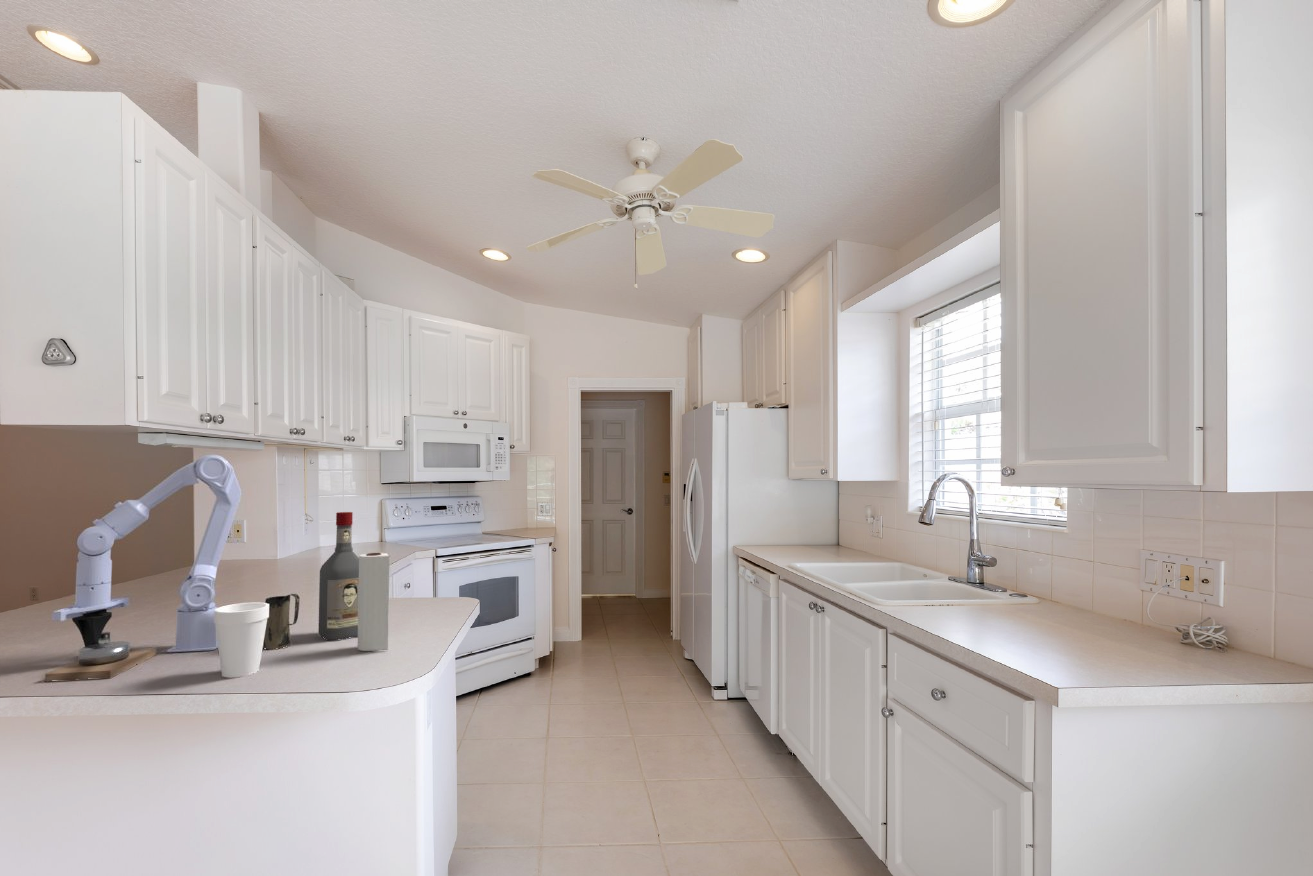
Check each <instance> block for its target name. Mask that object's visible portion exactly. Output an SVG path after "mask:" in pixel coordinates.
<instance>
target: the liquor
mask: <svg viewBox="0 0 1313 876" xmlns="http://www.w3.org/2000/svg"><path fill="white" fill-rule="evenodd" d="M353 513H354V512H352V511H342V512H340V511H338V512H336V513H335V514H336V515H335V522H336V523H335V526H336V534H335V535H336V538H335V539H336V541H335V548H334V552H333V553H332V554H331V555H330V557H328V559H327V560H326V561H325V562H324V563H323V564H322V565H321V567H320V569H319V583H318V584H319V589H318V591H319V592H318V635H319V636H321V637H320V638H322V637H324V638H325V640H326V639H327V640H326V641H339V640H338V639H343V640H347V639H346V638H349V637H354V638H358V637H357V636H358V596H359V556H358V555H357V554H356V553H355V552H354V551H353V550H354V548H353V546H352V544H353V543H352V537H353V536H352V535H353V532H352V529H353V528H352V527H353V526H352V525H353ZM324 638H323V639H324ZM349 639H350V638H349Z"/></svg>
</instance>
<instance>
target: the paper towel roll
mask: <svg viewBox="0 0 1313 876" xmlns="http://www.w3.org/2000/svg"><path fill="white" fill-rule="evenodd" d="M358 558H359V596H358V637H357V650H358V651H360V652H361V651H364V652H375V651H377V652H378V651H388V650H389V625H390V624H389V614H390V610H389V609H390V607H389V606H390V562H391V561H390V560H391V559H390V555H389V554H388V553H387V552H386V553H385V552H369V553H362V554H359V555H358Z"/></svg>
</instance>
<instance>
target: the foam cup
mask: <svg viewBox="0 0 1313 876" xmlns="http://www.w3.org/2000/svg"><path fill="white" fill-rule="evenodd" d="M218 607H219V606H218ZM267 618H269V604H267V603H265V602H241V603H233V604H228V605H223V606H220V607H219V608H216V609H215V611H214V623H215V625H216V633H217V641H218V648H217V649H218V656H219V665H220V671H221V677H223V678H229V679H233V678H242V677H246V676H251V675H254V674H257V673H258V672H259V671H260V665H261V660H262V654H263V642H264V636H265V630H266V624H267ZM257 671H258V672H257ZM253 673H254V674H253Z"/></svg>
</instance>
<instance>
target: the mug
mask: <svg viewBox="0 0 1313 876" xmlns="http://www.w3.org/2000/svg"><path fill="white" fill-rule="evenodd" d="M291 596H292V597H294V599H295V600H294V603H295V604H294V616H293V622H292V623H290V606H291ZM264 603H267V604H269V618H267V624H266V630H265V636H264V642H263V648H266V649H276V648H282V649H284V648H283V647H286V646H289V645H290V644H292V643H291V635H290V634H291V633H290V630H291V629H290V626H292V625H295V624H297V622H298V619H299V611H300V596H299V595H298V594H297V593H291V594H287V595H279V596H278V595H276V596H270V597H267V598H265V602H264ZM290 646H291V645H290ZM290 646H289V647H290ZM263 648H262V649H263ZM286 648H287V647H286ZM276 650H277V649H276Z"/></svg>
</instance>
